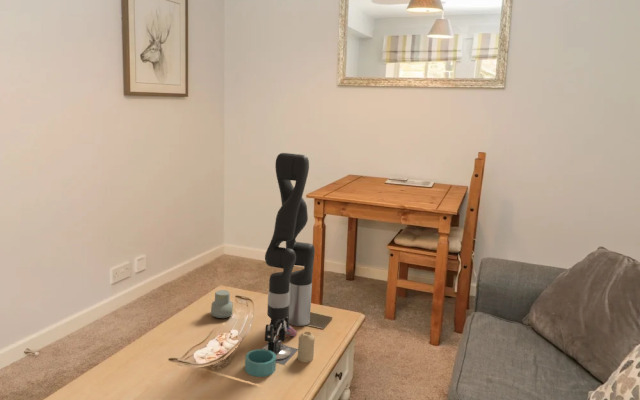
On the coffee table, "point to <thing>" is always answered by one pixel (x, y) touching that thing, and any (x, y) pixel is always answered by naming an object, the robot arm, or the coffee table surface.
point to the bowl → (260, 362)
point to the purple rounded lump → (290, 332)
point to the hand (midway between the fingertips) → (276, 345)
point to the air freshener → (222, 305)
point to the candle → (306, 347)
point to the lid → (280, 350)
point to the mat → (293, 351)
